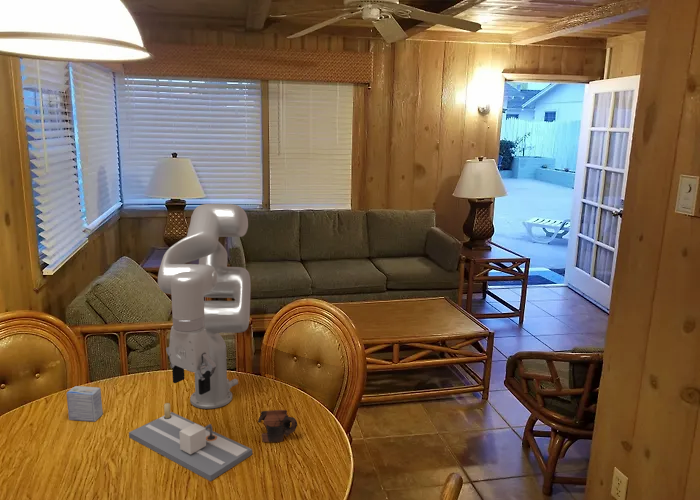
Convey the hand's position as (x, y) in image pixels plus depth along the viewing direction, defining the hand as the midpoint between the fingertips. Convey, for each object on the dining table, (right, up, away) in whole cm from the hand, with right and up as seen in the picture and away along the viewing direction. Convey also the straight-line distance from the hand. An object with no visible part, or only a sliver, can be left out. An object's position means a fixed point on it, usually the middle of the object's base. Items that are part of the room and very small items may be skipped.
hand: (191, 386), depth 139 cm
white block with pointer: (+1, -16, +5) cm, 17 cm away
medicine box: (-36, -14, +20) cm, 43 cm away
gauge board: (-3, -17, +7) cm, 19 cm away
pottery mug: (+20, -17, +14) cm, 30 cm away
